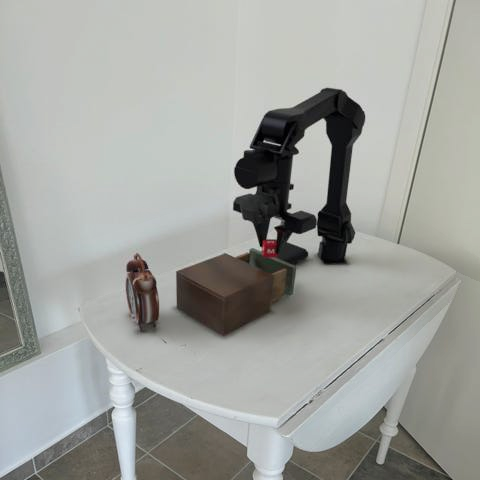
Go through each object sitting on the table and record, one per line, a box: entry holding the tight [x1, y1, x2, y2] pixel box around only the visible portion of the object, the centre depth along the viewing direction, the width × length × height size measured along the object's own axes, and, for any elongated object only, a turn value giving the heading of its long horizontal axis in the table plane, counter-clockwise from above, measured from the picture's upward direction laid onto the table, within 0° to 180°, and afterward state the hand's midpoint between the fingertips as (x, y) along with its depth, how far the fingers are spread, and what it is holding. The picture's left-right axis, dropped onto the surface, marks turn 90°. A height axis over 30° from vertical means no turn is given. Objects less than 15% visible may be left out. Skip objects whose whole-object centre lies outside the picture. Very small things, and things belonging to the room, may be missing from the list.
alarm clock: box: [124, 252, 160, 332], centre depth 96 cm, size 11×5×15 cm, turn 23°
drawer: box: [234, 247, 297, 303], centre depth 109 cm, size 15×13×7 cm
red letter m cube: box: [261, 238, 278, 257], centre depth 105 cm, size 3×3×3 cm
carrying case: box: [260, 241, 309, 266], centre depth 128 cm, size 11×3×15 cm
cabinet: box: [175, 252, 274, 337], centre depth 103 cm, size 15×15×9 cm
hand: (269, 250), depth 105 cm, fingers closed on red letter m cube, 4 cm apart
